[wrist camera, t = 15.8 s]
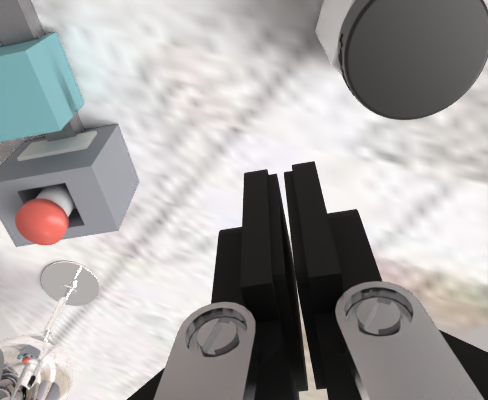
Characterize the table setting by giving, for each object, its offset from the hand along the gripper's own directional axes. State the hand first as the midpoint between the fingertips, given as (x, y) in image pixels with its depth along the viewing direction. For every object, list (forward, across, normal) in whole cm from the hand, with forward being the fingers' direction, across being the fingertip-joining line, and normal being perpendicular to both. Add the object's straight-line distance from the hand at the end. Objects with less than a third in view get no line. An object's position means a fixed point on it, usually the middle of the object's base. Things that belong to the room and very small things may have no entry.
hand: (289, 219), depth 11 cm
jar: (+29, -8, +2) cm, 30 cm away
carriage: (+29, +19, +2) cm, 35 cm away
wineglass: (+29, +26, +24) cm, 46 cm away
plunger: (+24, +19, +10) cm, 32 cm away
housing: (+29, +19, +10) cm, 36 cm away
